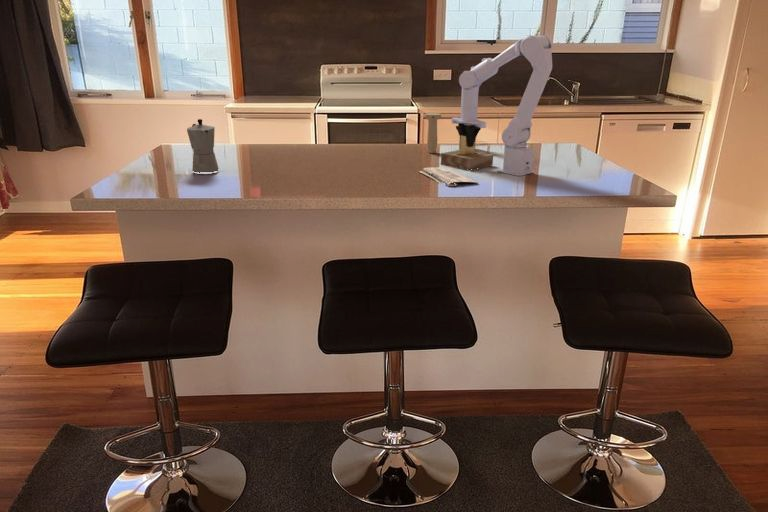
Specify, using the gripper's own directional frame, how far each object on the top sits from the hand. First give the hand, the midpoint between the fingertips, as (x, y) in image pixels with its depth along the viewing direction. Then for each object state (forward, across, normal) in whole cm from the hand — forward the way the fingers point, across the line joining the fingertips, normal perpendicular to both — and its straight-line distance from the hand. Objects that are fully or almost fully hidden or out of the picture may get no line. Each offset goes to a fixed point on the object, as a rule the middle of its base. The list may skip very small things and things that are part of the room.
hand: (467, 146), depth 210 cm
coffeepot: (+7, -52, -76) cm, 92 cm away
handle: (+7, -24, +6) cm, 26 cm away
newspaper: (+8, +10, -19) cm, 23 cm away
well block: (+7, 0, 0) cm, 7 cm away
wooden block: (+4, 0, 0) cm, 4 cm away
